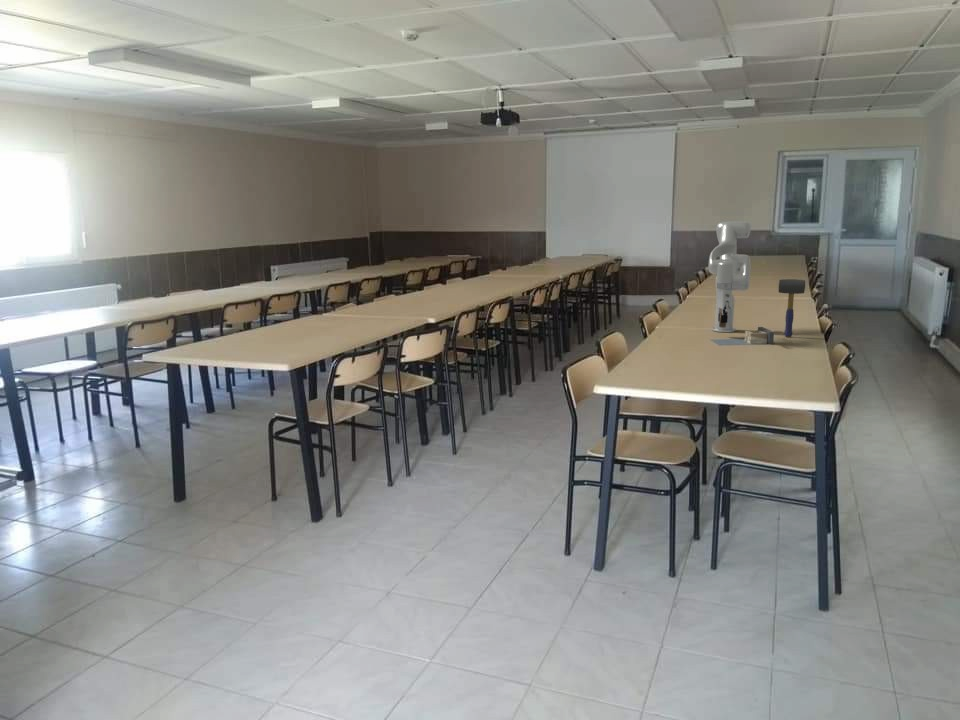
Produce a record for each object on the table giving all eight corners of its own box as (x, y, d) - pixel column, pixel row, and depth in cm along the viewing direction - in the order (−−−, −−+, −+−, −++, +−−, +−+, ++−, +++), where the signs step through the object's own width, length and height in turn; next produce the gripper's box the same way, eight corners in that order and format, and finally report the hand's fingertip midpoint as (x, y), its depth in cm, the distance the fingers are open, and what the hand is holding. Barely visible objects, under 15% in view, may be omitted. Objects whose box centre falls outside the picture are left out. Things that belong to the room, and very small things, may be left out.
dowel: (718, 326, 361) (719, 303, 358) (724, 326, 361) (725, 303, 358) (720, 327, 358) (721, 304, 355) (726, 327, 358) (727, 304, 355)
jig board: (709, 342, 354) (710, 327, 353) (761, 341, 354) (762, 326, 353) (719, 348, 340) (719, 333, 338) (772, 347, 339) (774, 332, 338)
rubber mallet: (801, 336, 365) (805, 278, 359) (801, 338, 358) (805, 280, 352) (775, 335, 370) (779, 278, 364) (774, 337, 363) (778, 279, 357)
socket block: (744, 340, 350) (745, 330, 349) (760, 340, 350) (761, 330, 348) (750, 343, 342) (750, 333, 341) (766, 343, 342) (767, 333, 341)
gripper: (737, 288, 346) (735, 324, 350) (726, 283, 362) (724, 318, 366) (722, 288, 346) (720, 325, 351) (711, 284, 362) (710, 319, 366)
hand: (722, 321), depth 358 cm, fingers closed on dowel, 3 cm apart
